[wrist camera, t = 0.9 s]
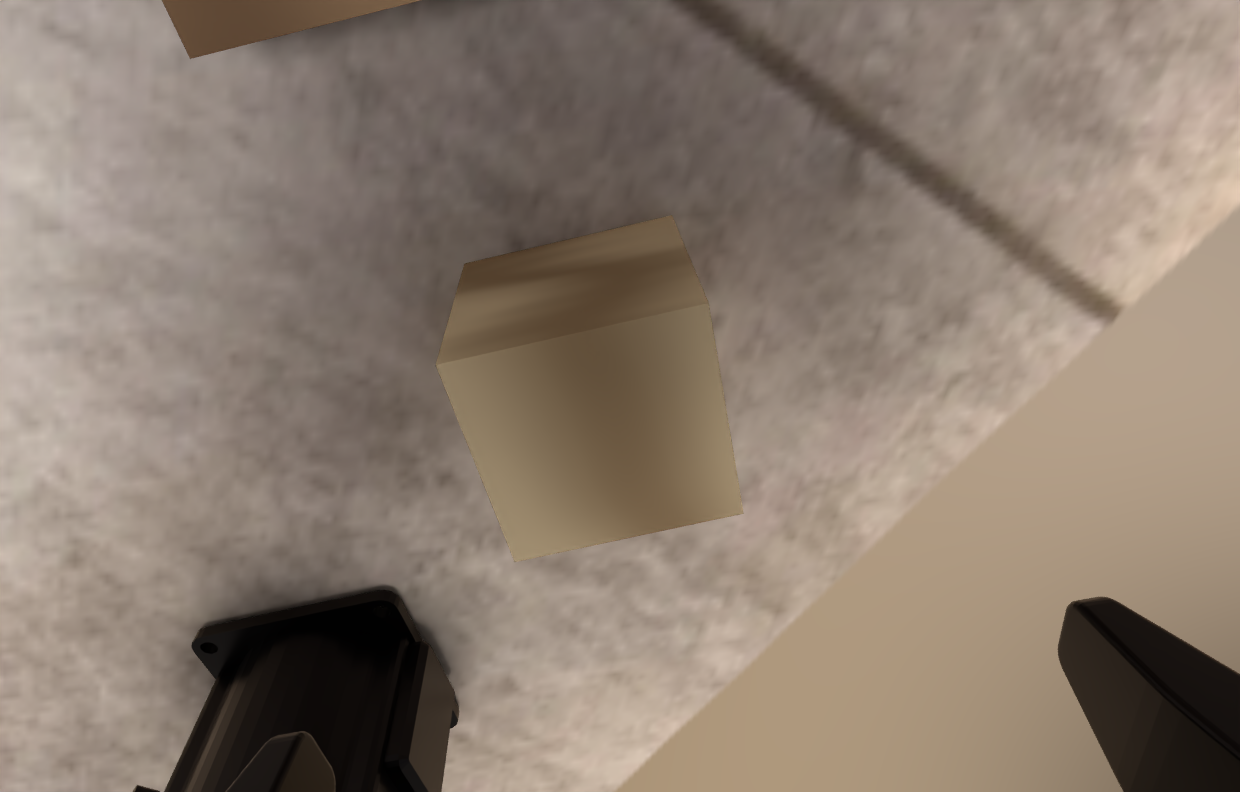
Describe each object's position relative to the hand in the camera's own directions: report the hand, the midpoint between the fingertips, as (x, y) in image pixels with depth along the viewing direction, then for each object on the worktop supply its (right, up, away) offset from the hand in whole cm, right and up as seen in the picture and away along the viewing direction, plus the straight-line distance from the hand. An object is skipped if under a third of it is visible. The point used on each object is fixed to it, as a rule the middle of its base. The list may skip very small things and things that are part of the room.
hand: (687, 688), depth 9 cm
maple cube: (-2, +5, +10) cm, 11 cm away
